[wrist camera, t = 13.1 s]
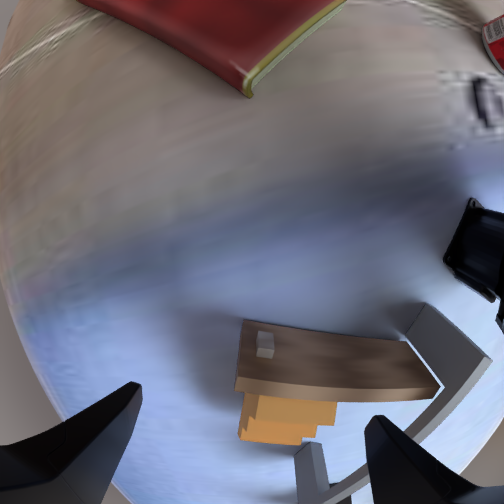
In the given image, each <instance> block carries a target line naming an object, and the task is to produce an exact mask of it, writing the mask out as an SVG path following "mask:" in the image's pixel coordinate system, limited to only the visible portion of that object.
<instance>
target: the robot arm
mask: <svg viewBox="0 0 504 504" xmlns="http://www.w3.org/2000/svg"><path fill="white" fill-rule="evenodd" d="M472 202H474V205H473V206H472ZM448 257H449V260H448V261H447V258H448ZM443 262H444V263H445V264H446V265H447V266H449V267H450V268H451V269H452V270H454V271H455V274H454V276H455V278H456V279H458V280H459V281H460V282H461V283H463V284H464V285H465V286H467V287H468V288H469V289H471V290H473V291H474V292H476V293H477V294H479V295H480V296H482V297H483V298H485V299H486V300H487V301H489V302H490V303H493V302H495V300H496V298H497V299H498V300H500V305H499V310H498V313H497V315H496V320H495V321H496V322H497V324H498V325H499V327H500V329H501V330H502V332H503V334H504V213H501V212H497V211H493V210H489V209H485V208H484V207H483V206H482V205H481V204H480V203H479V202H478V201H477V200H476V199H475V198H470V200H469V202H468V204H467V207H466V209H465V212H464V214H463V216H462V219H461V221H460V223H459V226H458V228H457V230H456V232H455V234H454V236H453V239H452V241H451V243H450V245H449V247H448V249H447V251H446V253H445V255H444V257H443ZM142 400H143V397H142V386H141V384H139V383H136V382H132V381H131V382H129V383H127V384H125V385H124V386H122V387H121V388H119V389H117V390H116V391H114V392H113V393H111V394H109V395H108V396H106V397H104V398H103V399H101V400H99V401H98V402H96V403H94V404H93V405H91V406H89V407H88V408H86V409H84V410H83V411H81V412H79V413H78V414H76V415H74V416H72V417H71V418H69V419H67V420H66V421H65V422H62V423H60V424H58V425H57V426H55V427H53V428H51V429H49V430H47V431H45V432H42V433H40V434H38V435H35V436H33V437H30V438H27V439H25V440H22V441H19V442H16V443H13V444H10V445H2V446H0V504H101V502H102V500H103V498H104V495H105V493H106V491H107V489H108V486H109V484H110V482H111V480H112V477H113V475H114V473H115V471H116V469H117V466H118V464H119V462H120V460H121V458H122V455H123V453H124V451H125V449H126V447H127V445H128V443H129V440H130V438H131V436H132V433H133V430H134V427H135V423H136V420H137V417H138V414H139V411H140V408H141V405H142ZM364 435H365V446H366V459H367V466H368V472H369V477H370V483H371V488H372V494H373V500H374V504H504V486H493V487H480V486H477V485H474V484H472V483H471V482H469V481H468V480H466V479H464V478H463V477H461V476H459V475H458V474H456V473H455V472H453V471H452V470H450V469H449V468H448V467H446V466H445V465H444V464H442V463H441V462H440V461H438V460H437V459H436V458H435V457H433V456H432V455H431V454H430V453H428V452H427V451H426V450H425V449H424V448H422V447H421V446H420V445H419V444H417V443H416V442H415V441H414V440H413V439H411V438H410V437H409V436H408V435H407V434H405V433H404V432H403V431H402V430H401V429H399V428H398V427H397V426H396V425H395V424H393V423H392V422H391V421H390V420H389V419H388V418H386V417H385V416H384V415H375V416H373V417H372V419H371V420H370V422H369V423H368V424H367V426H366V427H365V430H364Z"/></svg>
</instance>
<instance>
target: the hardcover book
mask: <svg viewBox="0 0 504 504" xmlns="http://www.w3.org/2000/svg"><path fill="white" fill-rule="evenodd" d="M76 1H78V2H79V3H82V4H84V5H87V6H89V7H92V8H94V9H97V10H99V11H102V12H104V13H106V14H109V15H111V16H113V17H115V18H118V19H120V20H122V21H124V22H126V23H128V24H130V25H132V26H134V27H136V28H138V29H140V30H142V31H144V32H146V33H148V34H150V35H152V36H154V37H155V38H157V39H159V40H161V41H163V42H164V43H166V44H168V45H170V46H171V47H173V48H175V49H177V50H178V51H180V52H182V53H183V54H185V55H187V56H188V57H190V58H191V59H193V60H195V61H196V62H198V63H199V64H201V65H202V66H204V67H206V68H207V69H209V70H210V71H212V72H213V73H215V74H216V75H218V76H219V77H220V78H222V79H223V80H225V81H226V82H228V83H229V84H231V85H232V86H233V87H235V88H236V89H238V90H239V91H240V92H242V93H243V94H244V95H246V96H247V97H248V98H251V97H252V96H253V93H252V91H251V89H252V88H253V87H254V86H255V85H256V84H257V83H258V82H259V81H260V80H261V79H262V78H263V77H264V76H265V75H266V74H267V73H269V72H270V71H271V70H272V69H273V68H274V67H275V66H276V65H277V64H278V63H279V62H280V61H281V60H282V59H283V58H284V57H286V56H287V55H288V54H289V53H290V52H291V51H292V50H293V49H294V48H296V47H297V46H298V45H299V44H300V43H301V42H302V41H304V40H305V39H306V38H307V37H308V36H310V35H311V34H312V33H313V32H314V31H316V30H317V29H318V28H319V27H320V26H322V25H323V24H324V23H325V22H327V21H328V20H329V19H331V18H332V17H333V16H334V15H336V14H337V13H338V12H340V11H341V10H342V8H343V6H344V4H345V2H346V0H76Z"/></svg>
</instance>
